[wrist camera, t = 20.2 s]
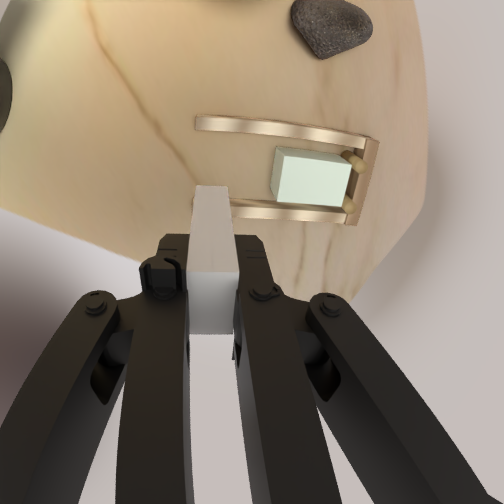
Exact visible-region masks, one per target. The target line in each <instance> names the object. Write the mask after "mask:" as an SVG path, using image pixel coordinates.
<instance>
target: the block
mask: <svg viewBox="0 0 504 504" xmlns="http://www.w3.org/2000/svg"><path fill="white" fill-rule="evenodd" d="M351 167H352V165H351V164H350V163H349V162H347V161H346V160H345V159H343V158H342V157H340V156H339V155H338V154H331V153H325V152H318V151H311V150H303V149H295V148H287V147H278V146H276V151H275V157H274V164H273V171H272V178H271V184H270V188H271V190H272V193H273V195H274V197H275V199H276V201H277V202H289V203H303V204H316V205H327V206H339V207H342V203H343V199H344V195H345V191H346V187H347V183H348V179H349V175H350V171H351Z"/></svg>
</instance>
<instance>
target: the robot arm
mask: <svg viewBox="0 0 504 504" xmlns="http://www.w3.org/2000/svg"><path fill="white" fill-rule="evenodd" d="M11 98H12V82H11V76H10V73H9V70H8V67H7V66H6V64H5V62H4V61H3V60H2V59H1V58H0V132H1V130H2V128H3V127H4V124H5V122H6V120H7V117H8V114H9V110H10V105H11ZM139 272H140V279H141V285H142V292H141V293H140V294H138V295H136V296H134V297H130V298H127V299H121V300H116V298H115V297H114V296H113V294H111V293H109V292H107V291H101V290H97V291H92V292H89V293H87V294H85V295H83V296H82V297H81V298H80V299H79V300H78V301H77V302H76V304H75V305H74V307H73V308H72V309H71V311H70V312H69V314H68V315H67V316H66V318H65V319H64V321H63V322H62V324H61V325H60V327H59V328H58V329H57V331H56V333H55V334H54V335H53V337H52V338H51V340H50V341H49V343H48V344H47V346H46V348H45V349H44V351H43V352H42V354H41V356H40V357H39V359H38V360H37V362H36V363H35V365H34V367H33V368H32V370H31V372H30V373H29V375H28V377H27V379H26V380H25V382H24V384H23V385H22V388H21V389H20V391H19V393H18V394H17V396H16V398H15V400H14V402H13V404H12V406H11V407H10V410H9V411H8V414H7V415H6V417H5V419H4V421H3V424H2V425H1V428H0V504H78V502H79V499H80V496H81V493H82V490H83V487H84V484H85V481H86V479H87V476H88V473H89V470H90V467H91V464H92V462H93V459H94V456H95V453H96V451H97V448H98V446H99V443H100V440H101V438H102V435H103V433H104V430H105V428H106V425H107V422H108V420H109V417H110V415H111V413H112V410H113V408H114V405H115V403H116V401H117V398H118V396H119V394H120V391H121V389H122V387H123V384H124V382H125V386H124V392H123V400H122V409H121V417H120V427H119V437H118V450H117V466H116V496H115V500H116V501H115V504H195V503H194V490H193V476H192V459H191V458H192V457H191V435H190V434H191V433H190V342H189V334H233V328H234V346H233V356H232V360H235V367H236V376H237V386H238V395H239V403H240V412H241V420H242V429H243V437H244V444H245V451H246V460H247V466H248V474H249V482H250V489H251V495H252V502H253V504H342V501H341V497H340V493H339V489H338V485H337V482H336V477H335V474H334V470H333V466H332V462H331V459H330V455H329V451H328V447H327V443H326V440H325V436H324V433H323V429H322V425H321V421H320V418H319V414H318V410H317V408H318V409H319V411H320V413H321V414H322V416H323V418H324V420H325V421H326V423H327V425H328V427H329V428H330V430H331V432H332V434H333V435H334V437H335V439H336V440H337V442H338V443H339V445H340V447H341V449H342V451H343V452H344V454H345V456H346V457H347V459H348V461H349V462H350V464H351V466H352V467H353V469H354V471H355V472H356V474H357V476H358V477H359V479H360V481H361V482H362V484H363V486H364V487H365V489H366V491H367V492H368V494H369V495H370V497H371V499H372V501H373V502H374V504H503V503H501V502H499V501H498V500H496V499H495V498H493V497H491V496H490V495H488V494H487V492H486V490H485V489H484V487H483V486H482V484H481V483H480V481H479V480H478V478H477V476H476V475H475V473H474V472H473V470H472V469H471V467H470V466H469V464H468V463H467V461H466V460H465V458H464V457H463V455H462V454H461V452H460V451H459V449H458V448H457V446H456V445H455V444H454V442H453V441H452V439H451V438H450V436H449V435H448V433H447V432H446V431H445V429H444V428H443V426H442V425H441V424H440V422H439V421H438V419H437V418H436V417H435V415H434V414H433V412H432V411H431V410H430V408H429V407H428V406H427V404H426V403H425V402H424V400H423V399H422V397H421V396H420V395H419V393H418V392H417V391H416V389H415V388H414V387H413V386H412V384H411V383H410V381H409V380H408V379H407V377H406V376H405V375H404V373H403V372H402V371H401V370H400V368H399V367H398V366H397V364H396V363H395V362H394V360H393V359H392V358H391V356H390V355H389V354H388V353H387V351H386V350H385V349H384V347H383V346H382V345H381V344H380V342H379V341H378V340H377V339H376V337H375V336H374V335H373V334H372V333H371V331H370V330H369V329H368V327H367V326H366V325H365V324H364V322H363V321H362V320H361V319H360V317H359V316H358V315H357V314H356V312H355V311H354V310H353V309H352V308H351V306H350V305H349V304H348V303H347V302H346V301H345V300H344V299H343V298H341V297H339V296H337V295H335V294H331V293H319V294H317V295H314V296H313V297H312V298H311V300H310V302H306V301H301V300H297V299H293V298H290V297H288V296H286V295H284V293H283V291H282V289H281V287H280V286H278V285H277V284H276V283H274V281H273V277H272V273H271V270H270V266H269V263H268V259H267V256H266V252H265V249H264V245H263V242H262V241H261V240H260V239H259V238H258V237H257V236H256V235H235V234H234V230H233V223H232V216H231V208H230V201H229V194H228V186H207V185H196V190H195V197H194V205H193V213H192V221H191V230H190V234H166V235H165V236H164V237H163V238H162V239H161V240H160V242H159V246H158V250H157V253H156V256H154V257H151V258H148V259H147V260H145V261H144V262H142V264H141V265H140V267H139ZM316 406H317V407H316Z"/></svg>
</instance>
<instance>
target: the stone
mask: <svg viewBox="0 0 504 504" xmlns="http://www.w3.org/2000/svg"><path fill="white" fill-rule="evenodd" d="M291 15H292V19H293V22H294V26H295V27H296V28H297V29H298V30H299V31H300V32H301V33H302V34H303V37H304V38H305V39H306V41H307V42H308V44H309V45H310V47H311V48H312V49H313V51H314V52H315V54H316V55H317V56H318V57H319V58H320V59H322V60H323V59H327V58H329V57H331V56H334V55H336V54H338V53H341V52H343V51H346V50H349V49H351V48H354V47H356V46H359V45H361V44H363V43H365V42H366V41H367V40H368V39H369V38H370V37H371V35H372V31H373V25H372V22H371V19H370V18H369V16H368V15H367V14H366V13H365V12H364V11H363V10H362V9H361V8H359V7H357V6H355V5H353V4H351V3H348V2H346V1H344V0H296V1H295V2H294V3H293V4H292V7H291Z"/></svg>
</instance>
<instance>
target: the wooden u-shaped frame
mask: <svg viewBox="0 0 504 504" xmlns="http://www.w3.org/2000/svg"><path fill="white" fill-rule="evenodd" d="M195 130H211V131H230V132H244V133H256V134H266V135H276V136H285V137H293V138H300V139H308V140H314V141H321V142H327V143H333V144H339V145H344V146H350V147H355V149H354V154H353V153H352V152H350V151H348V150H346V151H344V152H343V153H342V154H341V157H342V158H343V159H345V160H346V161H347V162H349V163H350V164H351V165H352V167H351V171H350V175H349V179H348V183H347V187H346V191H345V195H344V199H343V203H342V207H339V206H327V205H316V204H303V203H289V202H277V201H264V200H246V199H229V201H230V208H231V216H232V217H239V218H262V219H282V220H300V221H317V222H332V223H344V224H345V225H353V226H357V223H358V220H359V217H360V214H361V210H362V207H363V203H364V200H365V197H366V193H367V189H368V186H369V182H370V179H371V175H372V171H373V167H374V163H375V159H376V155H377V151H378V147H379V143H380V142H379V141H377V140H375V139H373V138H371V137H368V136H364V135H360V134H355V133H350V132H345V131H340V130H335V129H330V128H324V127H318V126H312V125H306V124H299V123H292V122H285V121H277V120H268V119H259V118H248V117H235V116H220V115H197V116H196V124H195ZM193 205H194V197H193V202H192V213H193Z"/></svg>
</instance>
